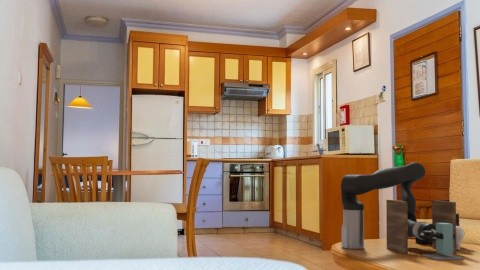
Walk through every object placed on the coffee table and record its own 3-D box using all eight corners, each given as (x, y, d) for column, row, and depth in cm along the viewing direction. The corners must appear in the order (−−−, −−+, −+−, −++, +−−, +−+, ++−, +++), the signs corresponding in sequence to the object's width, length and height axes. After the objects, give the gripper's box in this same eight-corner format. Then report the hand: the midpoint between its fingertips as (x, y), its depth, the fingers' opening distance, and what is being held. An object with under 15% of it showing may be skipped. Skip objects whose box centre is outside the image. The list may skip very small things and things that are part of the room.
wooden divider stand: (404, 254, 214) (404, 201, 216) (386, 248, 230) (386, 199, 232) (456, 253, 219) (455, 202, 221) (435, 248, 235) (434, 200, 237)
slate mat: (436, 260, 200) (436, 258, 200) (421, 255, 211) (421, 254, 211) (463, 259, 203) (463, 258, 203) (447, 255, 213) (447, 253, 213)
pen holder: (415, 243, 249) (415, 223, 250) (413, 241, 258) (413, 221, 259) (436, 244, 247) (435, 224, 248) (433, 242, 256) (433, 222, 257)
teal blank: (443, 254, 204) (442, 224, 205) (436, 252, 209) (435, 222, 210) (453, 253, 205) (452, 224, 206) (445, 252, 210) (445, 222, 211)
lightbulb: (464, 250, 230) (463, 225, 231) (465, 251, 224) (465, 226, 225) (449, 249, 232) (448, 224, 233) (450, 251, 226) (449, 226, 227)
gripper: (410, 223, 221) (432, 227, 204) (439, 222, 223) (464, 227, 207) (410, 240, 220) (432, 246, 203) (440, 240, 223) (464, 245, 206)
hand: (448, 236), depth 205 cm, fingers closed on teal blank, 4 cm apart
